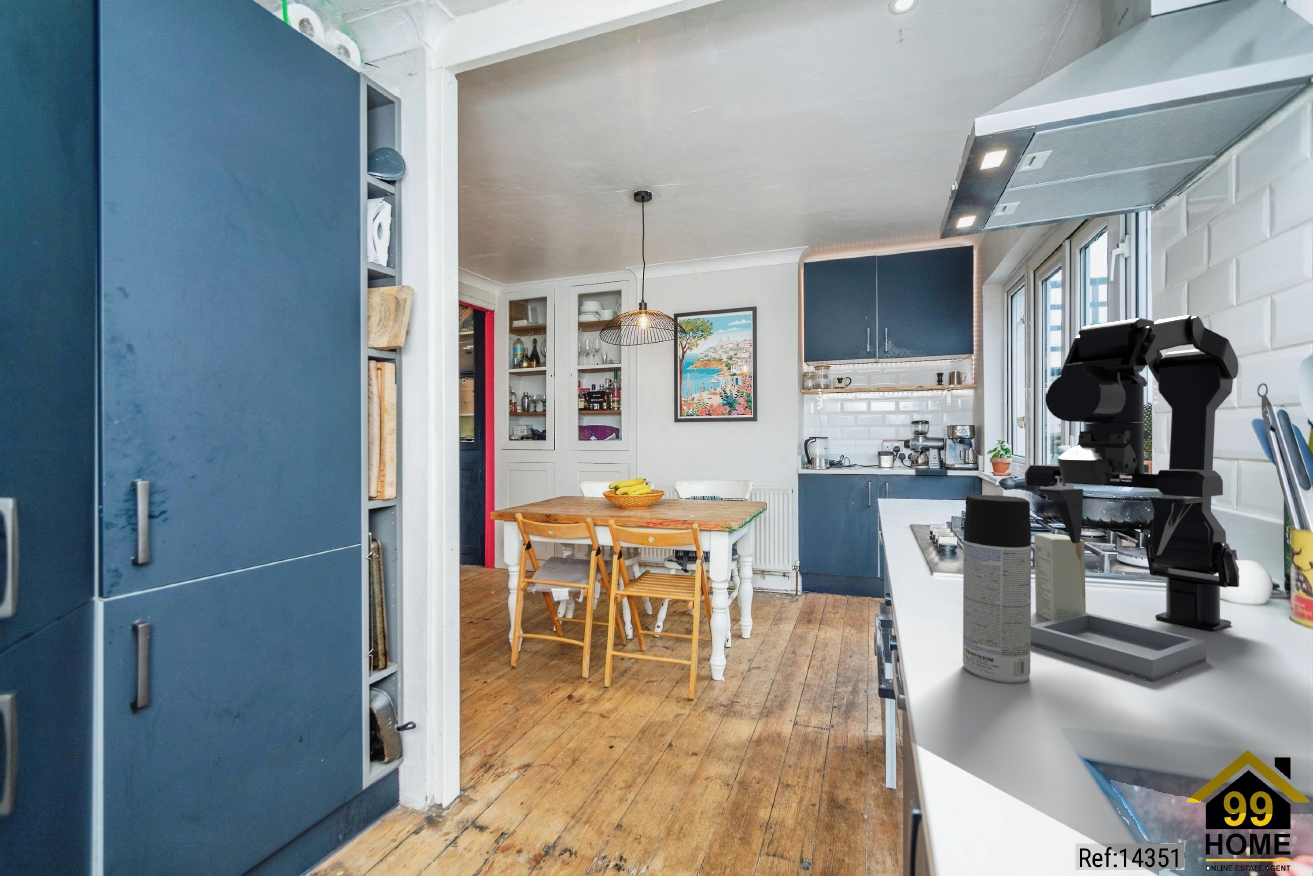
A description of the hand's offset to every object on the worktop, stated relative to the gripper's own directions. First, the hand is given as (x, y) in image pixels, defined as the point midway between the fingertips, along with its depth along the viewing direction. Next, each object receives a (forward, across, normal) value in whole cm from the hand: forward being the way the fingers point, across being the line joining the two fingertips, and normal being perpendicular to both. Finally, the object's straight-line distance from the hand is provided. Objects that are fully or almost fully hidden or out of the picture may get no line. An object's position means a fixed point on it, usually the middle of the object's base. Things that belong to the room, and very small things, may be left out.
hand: (1114, 548), depth 72 cm
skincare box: (+13, -11, +9) cm, 19 cm away
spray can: (+13, -3, -19) cm, 23 cm away
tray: (+13, 0, 0) cm, 13 cm away
